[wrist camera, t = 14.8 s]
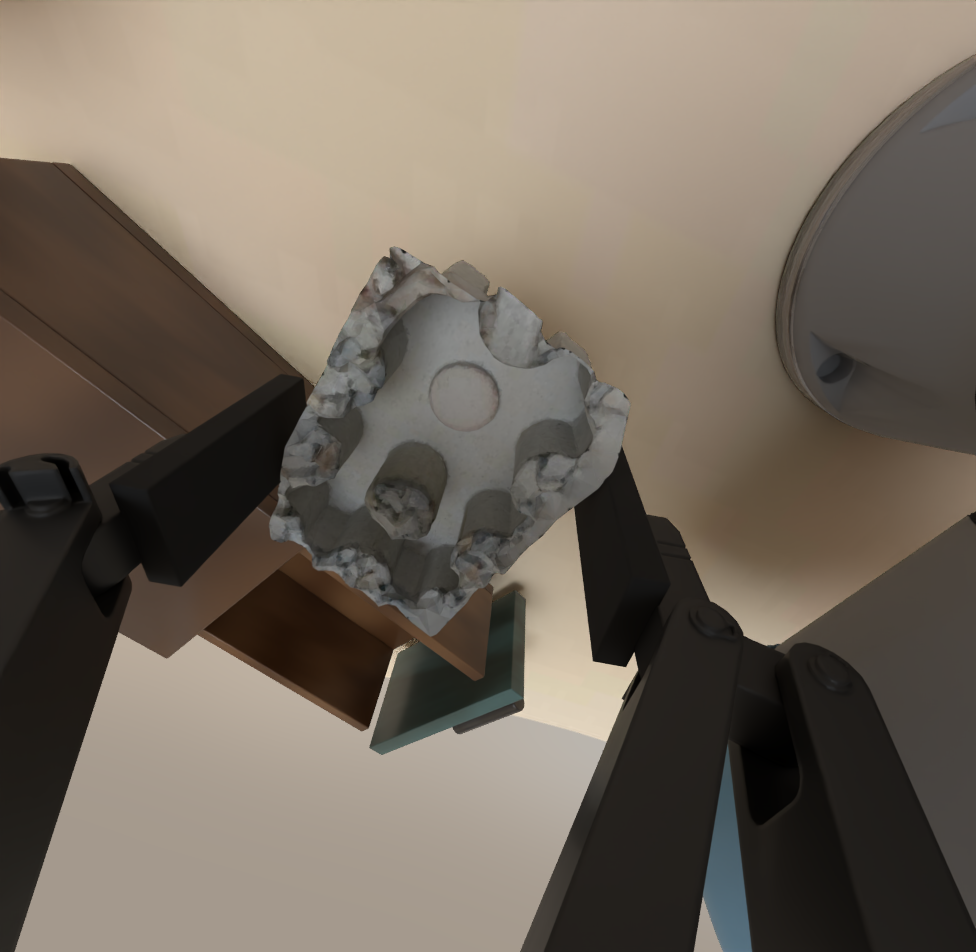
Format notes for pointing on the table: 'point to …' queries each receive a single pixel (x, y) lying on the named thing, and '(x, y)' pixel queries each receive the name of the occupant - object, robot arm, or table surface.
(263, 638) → the drawer
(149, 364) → the cabinet
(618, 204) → the table surface
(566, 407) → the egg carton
